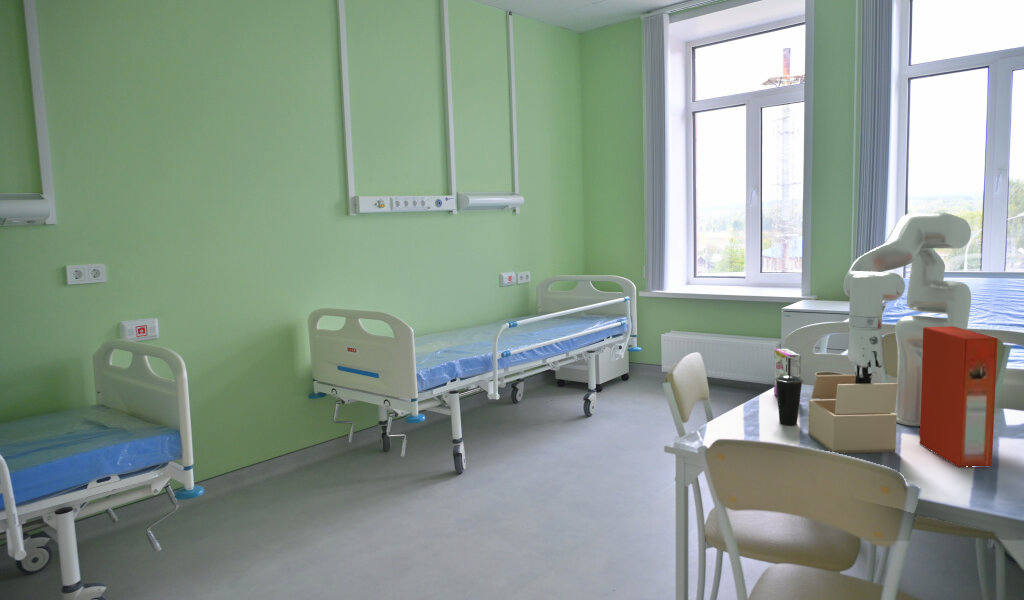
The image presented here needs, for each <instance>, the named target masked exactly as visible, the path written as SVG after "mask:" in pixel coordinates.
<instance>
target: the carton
mask: <svg viewBox="0 0 1024 600" xmlns="http://www.w3.org/2000/svg"><path fill="white" fill-rule="evenodd" d="M835 406H836V399H824V400H821V399H808V435H810V437H811V438H813V439H814V440H816V441H817V442H818V443H820V444H821V445H822V446H823V447H824V448H826V449H827V450H828V451H830V452H831V451H833V452H838V453H837V454H863V453H865V454H867V453H868V454H869V453H872V454H873V453H874V454H876V453H896V447H897V446H896V445H897V443H896V442H897V424H898V423H897V415H896V414H894V413H859V414H835ZM844 452H845V453H844Z"/></svg>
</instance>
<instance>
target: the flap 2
mask: <svg viewBox="0 0 1024 600" xmlns="http://www.w3.org/2000/svg"><path fill="white" fill-rule="evenodd" d="M897 387H898V384H897V382H889V383H888V382H884V383H882V382H881V383H879V382H878V383H877V382H876V383H874V382H873V383H871V384H837V395H836V406H835V414H859V413H895V412H896V396H897Z"/></svg>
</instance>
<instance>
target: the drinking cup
mask: <svg viewBox="0 0 1024 600" xmlns="http://www.w3.org/2000/svg"><path fill="white" fill-rule="evenodd" d="M790 369H791V358H788V375H782V376H779V377H776V378H775V380H776V383H777V396H778V397H777V396H776V397H777V408H778V409H777V410H778V417H779V418H778V419H779V420H778V421H779V424H780V425H783V426H786V427H787V426H788V427H792V426H797V425H798V418H799V417H798V416H799V409H800V408H799V407H800V403H801V391H802V386H803V385H802V384H803V383H804V380H803V378H801V377H800V378H799V377H797V376H794V375H790ZM799 402H800V403H799Z"/></svg>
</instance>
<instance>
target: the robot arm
mask: <svg viewBox="0 0 1024 600" xmlns="http://www.w3.org/2000/svg"><path fill="white" fill-rule="evenodd" d="M971 235H972V230H971V226H970V224H969V222H968V221H967V220H966V219H965V218H963V217H959V216H958V215H954V214H951V213H947V212H927V213H926V212H921V213H920V212H917V213H908V214H905V215H903V216H902V217H900V218H899V219H898V221H897V222H896V223H895V225H894V227H893V229H892V230H891V231H890V234H889V235H888V237H887V239H886V240H885V241H884V244H882V245H880V246H877V247H876V248H874V249H872V250H869V251H868V252H866V253H864V254H863V255H861V256H859V257H858V258H856V259H855V260H854V262H853V264H852V265H851V266H850V268H849V269H848V271H847V273H846V274H845V277H844V281H843V286H842V287H843V291H844V294H845V295H846V296H847V297H848V298H849V310H848V311H849V312H848V328H849V336H848V344H847V345H848V346H847V360H848V361H849V362H851V365H852V366H853V367H854V374H855V376H856V379H855V384H872V380H871V378H872V379H873V376H872V375H873V374H876V373H877V368H882V367H883V366H884V340H883V339H884V338H883V332H882V329H883V301H884V302H892V301H893V302H894V301H896V300H899V299H900V298H901V297H902V296H903V294H904V292H905V289H906V283H905V279H904V278H903V277H902V276H901V275H900V274H898V273H895V272H889V271H892V270H896V269H899V268H904V267H906V266H909V265H910V264H911V266H910V267H911V268H910V276H909V281H908V288H907V294H906V305H907V306H906V307H908V309H910V310H912V311H914V312H920V313H927V314H928V313H929V314H943V315H947V317H938V316H937V317H934V316H925V315H906V316H903V317H901V318H900V319H898V320H897V322H896V324H895V327H894V334H895V340H896V347H897V348H896V349H897V373H896V383H897V384H898V387H897V396H896V405H895V413H894V414H896V415H897V423H896V424H900V425H905V426H912V427H919V426H920V416H921V384H922V353H923V328H925V327H948V326H954V327H958V328H961V329H965V330H968V324H969V320H970V312H971V305H972V294H971V293H972V292H971V289H970V287H969V285H967V284H966V283H964V282H960V281H956V280H955V281H953V280H952V281H951V280H944V277H945V270H946V264H945V262H944V259H942V257H941V255H939V253H938V252H937V251H936V250H935V249H954V250H955V249H956V250H957V249H961V248H964V247H966V246H967V245H968V243H969V242H970V239H971ZM887 271H888V272H887Z"/></svg>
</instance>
